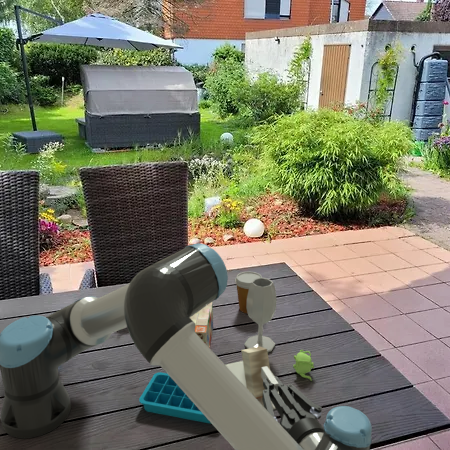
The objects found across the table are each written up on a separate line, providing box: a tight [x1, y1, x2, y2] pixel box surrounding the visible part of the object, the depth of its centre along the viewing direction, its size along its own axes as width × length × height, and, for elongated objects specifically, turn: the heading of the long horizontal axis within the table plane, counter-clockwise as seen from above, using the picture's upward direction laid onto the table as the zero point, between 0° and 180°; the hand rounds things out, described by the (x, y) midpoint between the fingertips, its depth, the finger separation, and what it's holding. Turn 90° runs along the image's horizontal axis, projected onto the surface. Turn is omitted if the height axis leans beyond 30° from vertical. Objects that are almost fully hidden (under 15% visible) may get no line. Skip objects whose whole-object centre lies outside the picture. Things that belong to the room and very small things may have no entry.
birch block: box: [241, 346, 271, 399], centre depth 111 cm, size 5×5×11 cm
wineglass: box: [244, 276, 278, 353], centre depth 129 cm, size 9×9×21 cm
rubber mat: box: [225, 360, 286, 410], centre depth 116 cm, size 14×20×1 cm
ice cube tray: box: [138, 371, 213, 425], centre depth 109 cm, size 12×20×3 cm, turn 76°
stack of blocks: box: [190, 301, 214, 349], centre depth 130 cm, size 21×6×12 cm, turn 176°
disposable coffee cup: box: [234, 271, 263, 314], centre depth 151 cm, size 10×10×12 cm
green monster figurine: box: [293, 349, 315, 382], centre depth 120 cm, size 6×5×6 cm
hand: (263, 371), depth 108 cm, fingers closed
